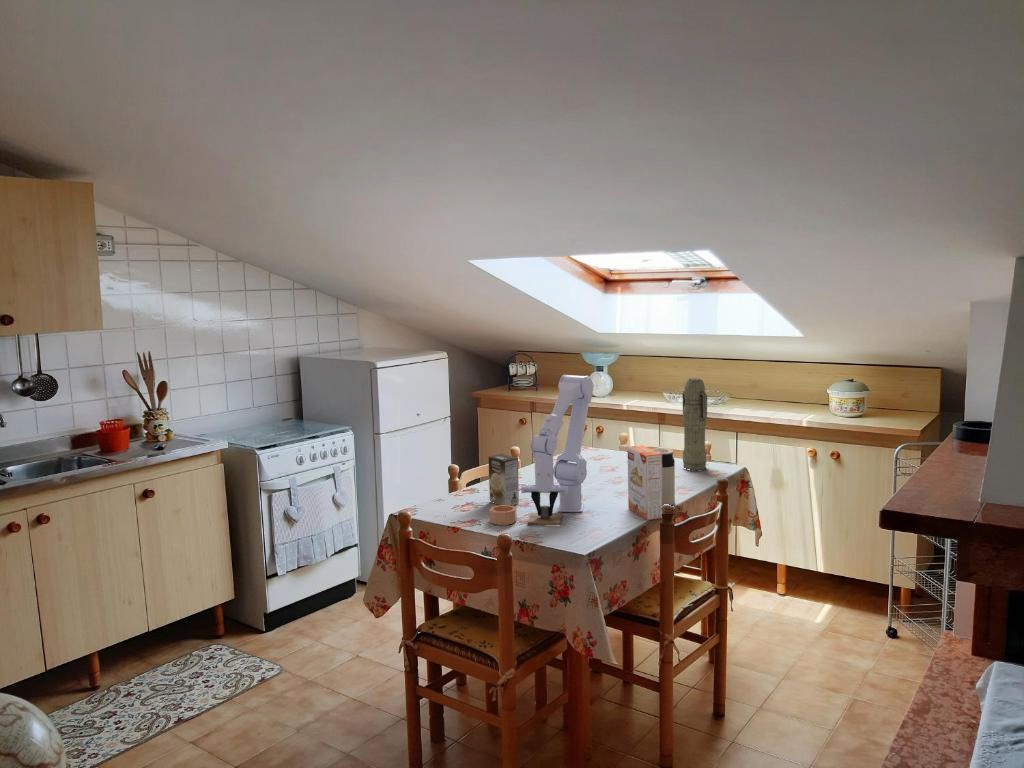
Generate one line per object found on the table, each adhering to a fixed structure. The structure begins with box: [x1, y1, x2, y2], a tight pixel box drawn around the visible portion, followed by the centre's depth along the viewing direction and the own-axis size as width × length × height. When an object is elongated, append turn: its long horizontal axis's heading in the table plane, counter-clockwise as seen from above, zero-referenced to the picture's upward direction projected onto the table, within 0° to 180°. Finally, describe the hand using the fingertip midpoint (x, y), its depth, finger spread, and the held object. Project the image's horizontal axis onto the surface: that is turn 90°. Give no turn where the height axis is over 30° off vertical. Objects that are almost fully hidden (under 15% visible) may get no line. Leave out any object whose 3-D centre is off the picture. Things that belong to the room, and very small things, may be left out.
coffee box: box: [488, 453, 520, 506], centre depth 275 cm, size 9×6×16 cm
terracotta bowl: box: [489, 505, 518, 526], centre depth 255 cm, size 8×8×4 cm
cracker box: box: [626, 445, 664, 521], centre depth 258 cm, size 14×6×21 cm, turn 16°
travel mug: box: [651, 447, 676, 506], centre depth 269 cm, size 8×8×18 cm
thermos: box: [682, 378, 708, 471], centre depth 314 cm, size 9×12×35 cm
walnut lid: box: [527, 505, 564, 526], centre depth 255 cm, size 10×10×4 cm
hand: (545, 515), depth 255 cm, fingers closed on walnut lid, 3 cm apart
